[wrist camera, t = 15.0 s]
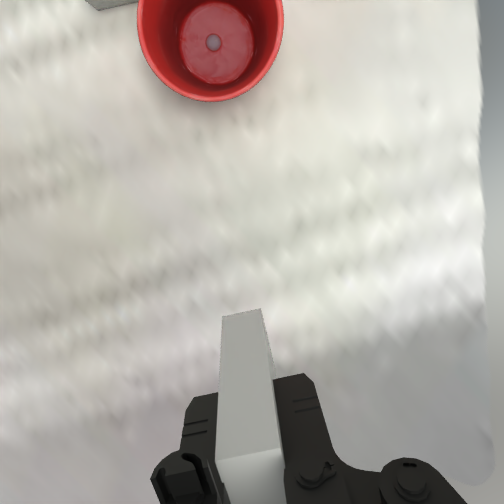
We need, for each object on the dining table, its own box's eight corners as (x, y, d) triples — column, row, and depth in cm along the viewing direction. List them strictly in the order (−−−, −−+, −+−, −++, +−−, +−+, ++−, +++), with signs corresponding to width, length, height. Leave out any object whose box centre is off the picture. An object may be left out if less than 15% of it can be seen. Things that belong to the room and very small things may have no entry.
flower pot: (139, 8, 37) (107, -26, 27) (248, -41, 36) (253, -93, 27) (186, 120, 40) (172, 123, 31) (287, 78, 39) (304, 68, 30)
